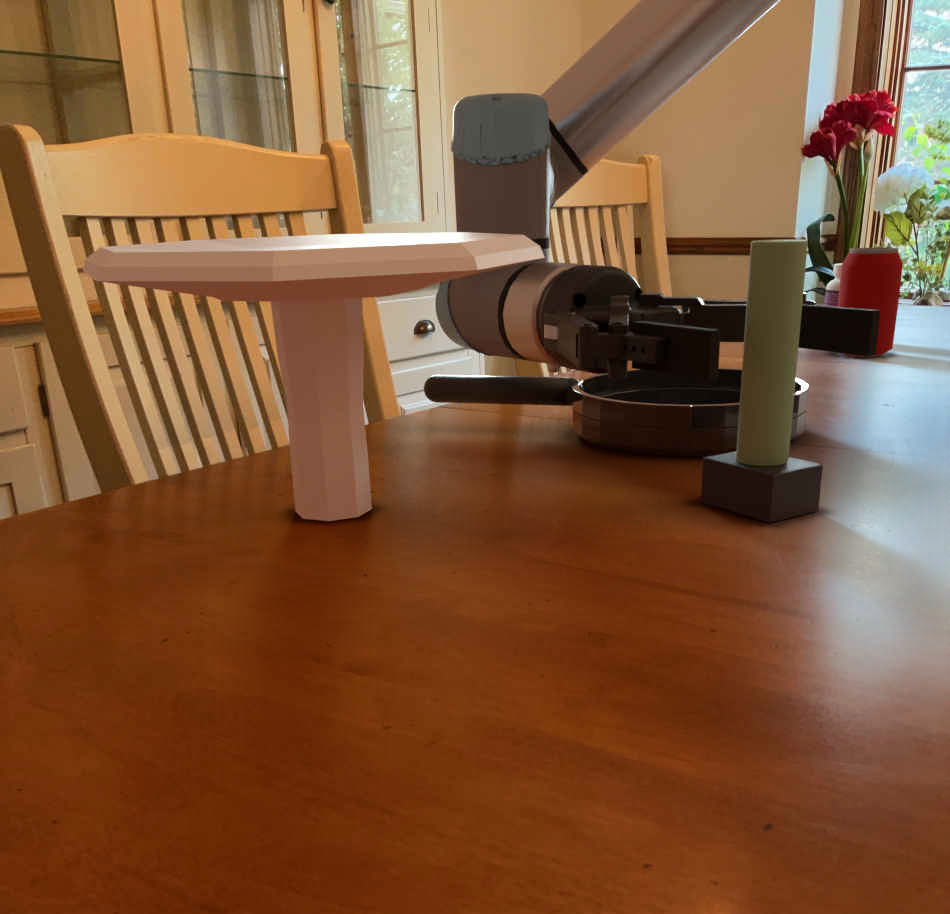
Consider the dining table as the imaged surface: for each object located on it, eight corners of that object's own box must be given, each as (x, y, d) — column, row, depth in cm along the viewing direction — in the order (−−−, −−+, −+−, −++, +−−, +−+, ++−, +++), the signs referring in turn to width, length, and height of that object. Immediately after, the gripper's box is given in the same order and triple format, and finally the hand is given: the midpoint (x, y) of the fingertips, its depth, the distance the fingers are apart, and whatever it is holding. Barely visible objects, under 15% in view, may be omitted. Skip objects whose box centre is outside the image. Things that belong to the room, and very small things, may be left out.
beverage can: (896, 351, 127) (909, 247, 122) (885, 359, 122) (899, 250, 117) (839, 349, 130) (850, 247, 126) (826, 356, 125) (837, 250, 120)
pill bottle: (848, 345, 134) (857, 265, 130) (812, 341, 137) (819, 264, 134) (871, 340, 137) (880, 262, 133) (835, 337, 141) (843, 261, 137)
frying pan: (804, 413, 94) (808, 368, 92) (802, 463, 77) (808, 409, 75) (594, 408, 99) (594, 365, 98) (549, 453, 82) (549, 402, 81)
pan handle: (585, 403, 91) (586, 375, 90) (580, 408, 89) (580, 379, 88) (429, 399, 95) (428, 372, 94) (420, 404, 93) (419, 376, 92)
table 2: (35, 518, 69) (-18, 250, 63) (362, 444, 87) (347, 231, 81) (284, 622, 51) (245, 258, 44) (633, 502, 69) (641, 231, 62)
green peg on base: (699, 502, 68) (714, 241, 62) (748, 491, 70) (767, 238, 64) (769, 523, 63) (792, 243, 57) (818, 511, 66) (846, 239, 59)
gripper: (697, 352, 85) (923, 384, 69) (435, 387, 73) (634, 436, 57) (702, 255, 83) (940, 263, 66) (430, 275, 70) (638, 292, 54)
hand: (799, 343), depth 61 cm, fingers open, 13 cm apart
